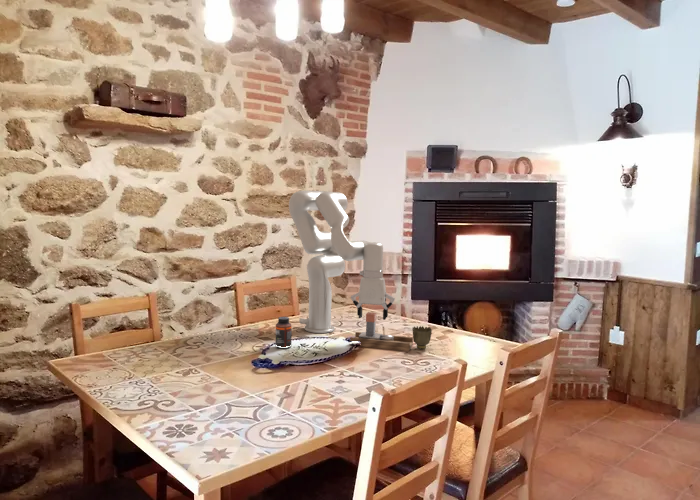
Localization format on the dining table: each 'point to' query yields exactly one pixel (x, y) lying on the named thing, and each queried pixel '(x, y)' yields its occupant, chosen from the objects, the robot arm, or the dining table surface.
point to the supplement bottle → (283, 332)
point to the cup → (421, 336)
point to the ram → (373, 329)
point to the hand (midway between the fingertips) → (372, 318)
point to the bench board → (385, 342)
